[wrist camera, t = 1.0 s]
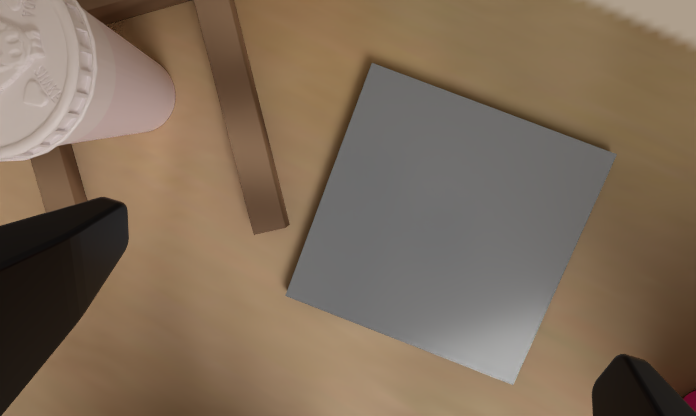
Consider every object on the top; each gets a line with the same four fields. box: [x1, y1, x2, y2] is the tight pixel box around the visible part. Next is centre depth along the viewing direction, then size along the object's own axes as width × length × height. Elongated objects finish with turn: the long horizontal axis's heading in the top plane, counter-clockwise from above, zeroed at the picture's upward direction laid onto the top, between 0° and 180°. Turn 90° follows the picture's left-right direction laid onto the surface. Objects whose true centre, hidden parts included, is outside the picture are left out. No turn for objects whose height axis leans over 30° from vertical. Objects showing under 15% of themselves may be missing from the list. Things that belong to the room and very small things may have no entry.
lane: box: [31, 0, 290, 235], centre depth 23 cm, size 13×12×2 cm
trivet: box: [286, 63, 617, 385], centre depth 23 cm, size 12×12×1 cm
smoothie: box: [0, 0, 175, 161], centre depth 17 cm, size 6×6×14 cm
